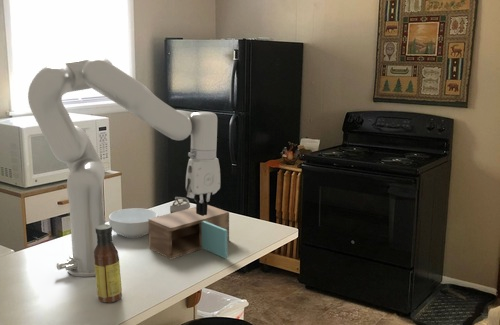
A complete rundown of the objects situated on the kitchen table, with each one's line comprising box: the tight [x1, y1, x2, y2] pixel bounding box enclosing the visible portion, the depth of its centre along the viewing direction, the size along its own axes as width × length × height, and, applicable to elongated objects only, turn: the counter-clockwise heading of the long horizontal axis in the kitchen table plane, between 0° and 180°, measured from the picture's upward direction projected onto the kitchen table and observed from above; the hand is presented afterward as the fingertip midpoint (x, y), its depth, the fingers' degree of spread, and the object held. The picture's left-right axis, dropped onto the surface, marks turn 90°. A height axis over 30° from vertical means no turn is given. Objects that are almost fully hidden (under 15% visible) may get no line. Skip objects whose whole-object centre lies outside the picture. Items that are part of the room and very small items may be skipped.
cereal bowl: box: [108, 207, 159, 239], centre depth 195 cm, size 17×17×7 cm
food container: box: [169, 196, 191, 214], centre depth 201 cm, size 12×6×10 cm, turn 179°
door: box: [201, 221, 230, 259], centre depth 178 cm, size 12×2×9 cm, turn 42°
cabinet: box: [148, 204, 230, 259], centre depth 185 cm, size 24×12×10 cm, turn 134°
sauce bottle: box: [94, 223, 123, 304], centre depth 145 cm, size 7×6×20 cm
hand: (201, 214), depth 168 cm, fingers closed
